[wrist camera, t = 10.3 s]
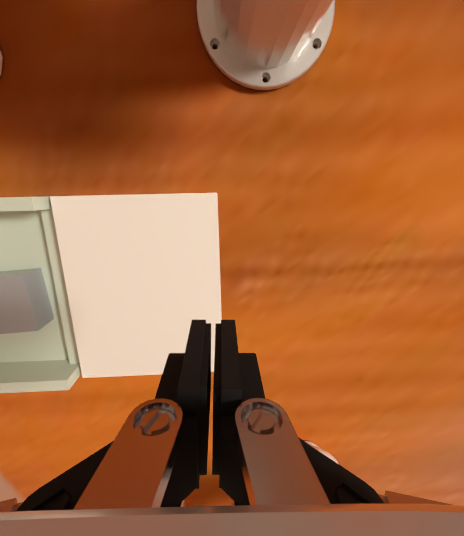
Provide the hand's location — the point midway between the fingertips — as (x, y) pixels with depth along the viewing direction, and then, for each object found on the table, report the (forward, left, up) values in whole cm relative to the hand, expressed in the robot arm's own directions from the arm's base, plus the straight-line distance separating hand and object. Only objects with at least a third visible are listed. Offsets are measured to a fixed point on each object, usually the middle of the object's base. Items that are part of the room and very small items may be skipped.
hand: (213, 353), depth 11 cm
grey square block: (+4, -22, -21) cm, 31 cm away
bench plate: (+4, -8, -22) cm, 24 cm away
